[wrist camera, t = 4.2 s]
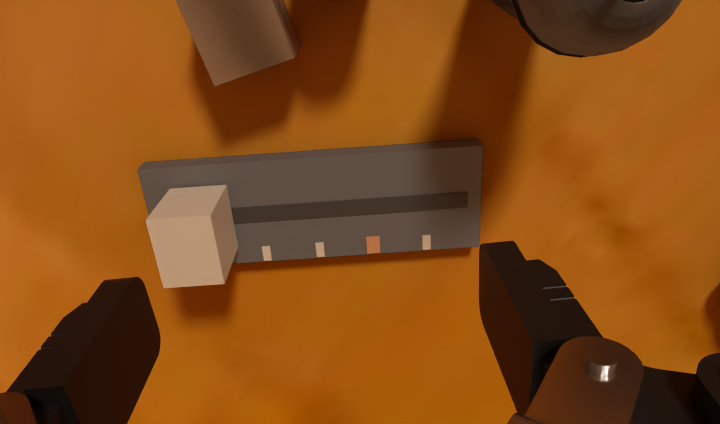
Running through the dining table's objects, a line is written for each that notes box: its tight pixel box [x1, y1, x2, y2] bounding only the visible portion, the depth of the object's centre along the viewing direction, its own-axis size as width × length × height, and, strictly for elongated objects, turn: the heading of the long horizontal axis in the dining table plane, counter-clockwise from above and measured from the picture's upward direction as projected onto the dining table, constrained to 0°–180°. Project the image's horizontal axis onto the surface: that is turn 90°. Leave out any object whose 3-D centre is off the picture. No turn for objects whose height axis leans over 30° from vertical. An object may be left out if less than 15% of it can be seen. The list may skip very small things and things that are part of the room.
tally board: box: [137, 139, 483, 264], centre depth 39 cm, size 24×8×2 cm, turn 94°
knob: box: [146, 185, 238, 288], centre depth 36 cm, size 4×5×5 cm
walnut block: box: [176, 0, 301, 86], centre depth 32 cm, size 5×5×5 cm
